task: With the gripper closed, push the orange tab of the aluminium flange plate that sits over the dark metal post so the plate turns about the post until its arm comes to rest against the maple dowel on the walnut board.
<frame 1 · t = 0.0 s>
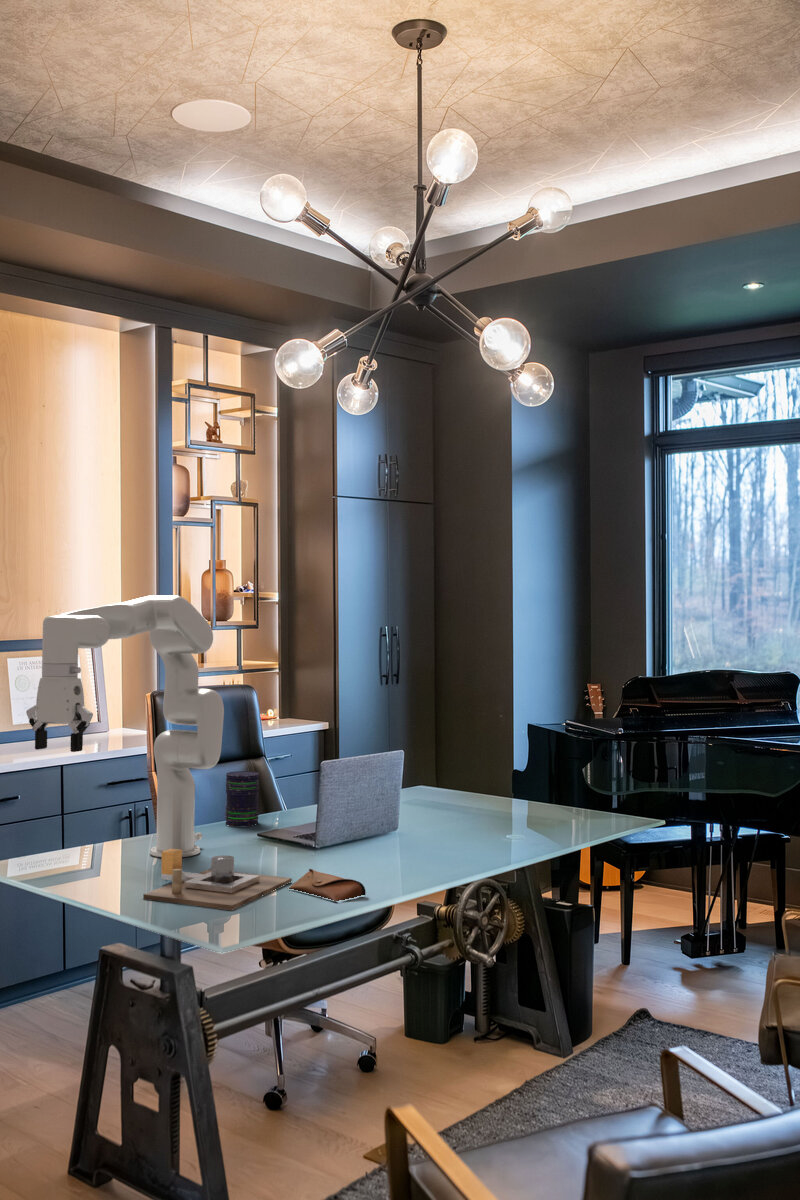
hand: (58, 750, 232), 31 cm above the table, tool pointing down, fingers open, 9 cm apart
sunglasses case: (324, 896, 234), on the table
post: (222, 885, 236), resting on base board
base board: (219, 890, 235), on the table
dowel: (176, 893, 229), resting on base board
flange: (205, 868, 238), point 4 cm above the table, hinge at 0.0°
storage jar: (241, 824, 314), on the table
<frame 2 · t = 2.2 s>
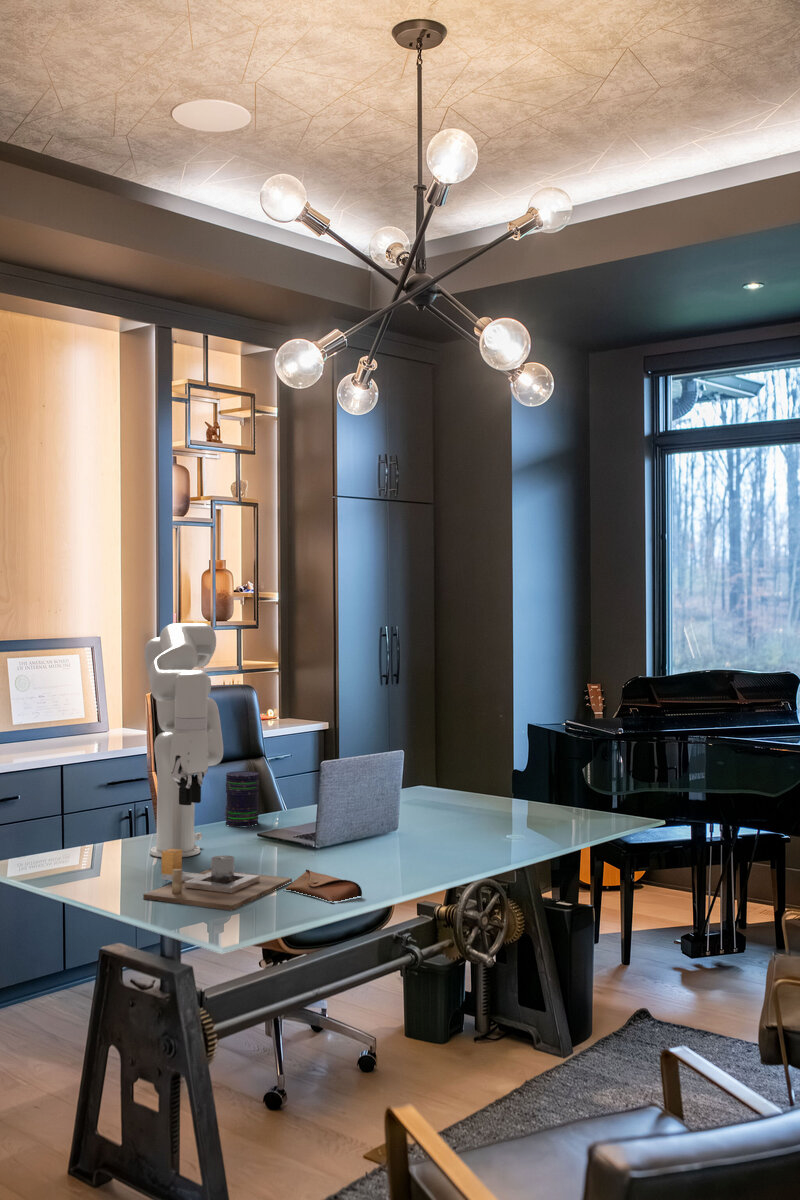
hand: (189, 802, 248), 17 cm above the table, tool pointing down, fingers open, 3 cm apart
sunglasses case: (320, 896, 233), on the table
everything else where it was.
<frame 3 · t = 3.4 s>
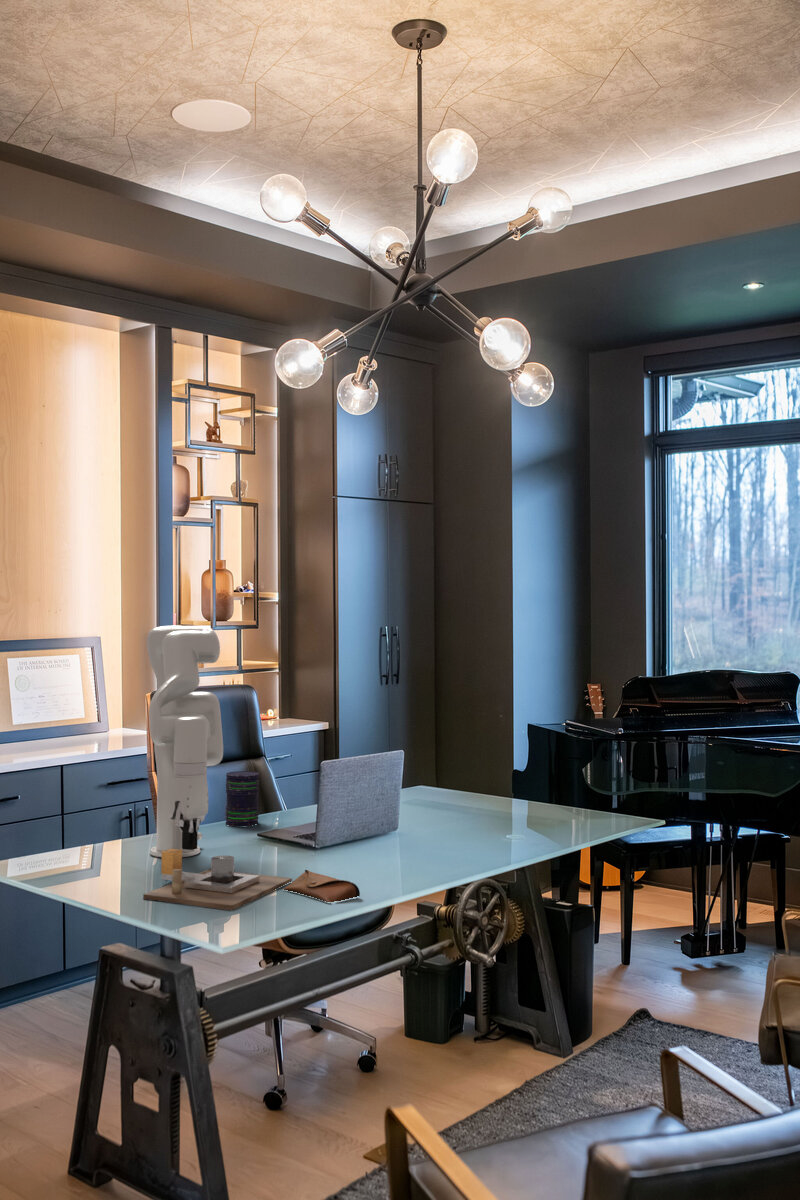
hand: (189, 848, 247), 7 cm above the table, tool pointing down, fingers closed
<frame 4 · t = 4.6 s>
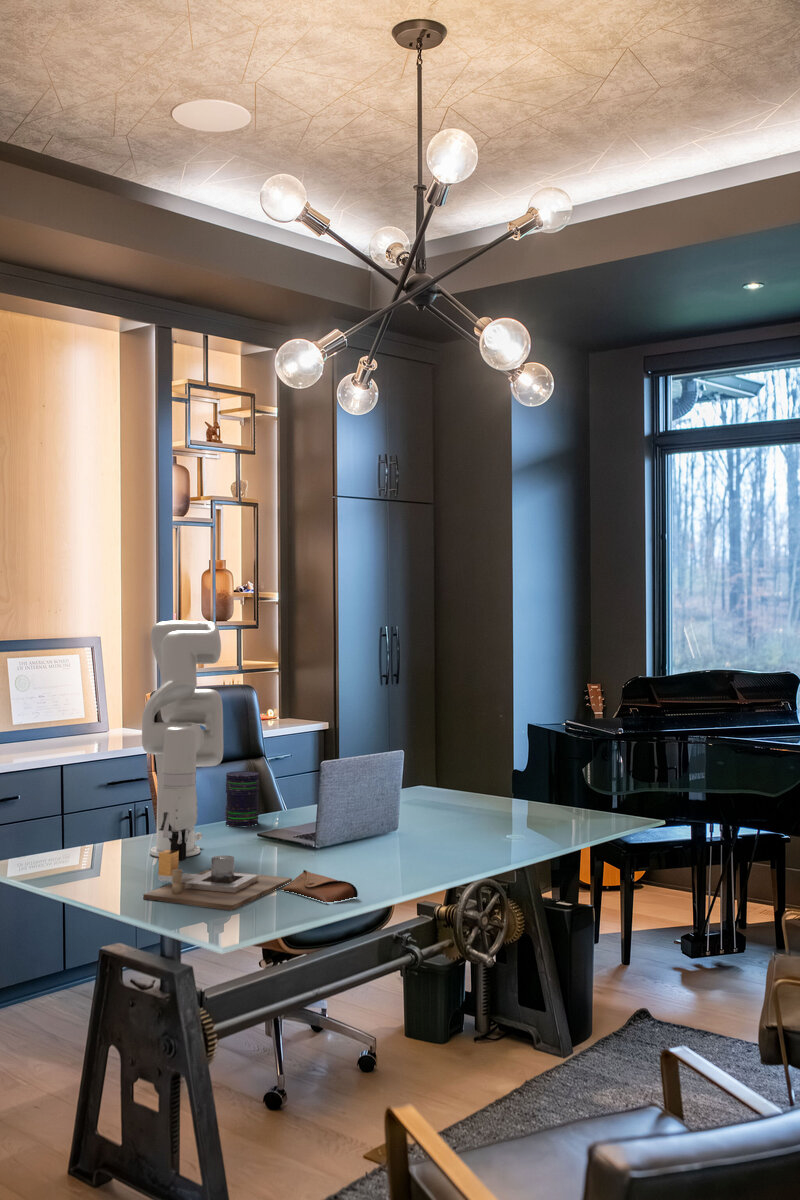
hand: (178, 859, 244), 5 cm above the table, tool pointing down, fingers closed
flange: (204, 868, 238), point 4 cm above the table, hinge at 5.6°, touching gripper
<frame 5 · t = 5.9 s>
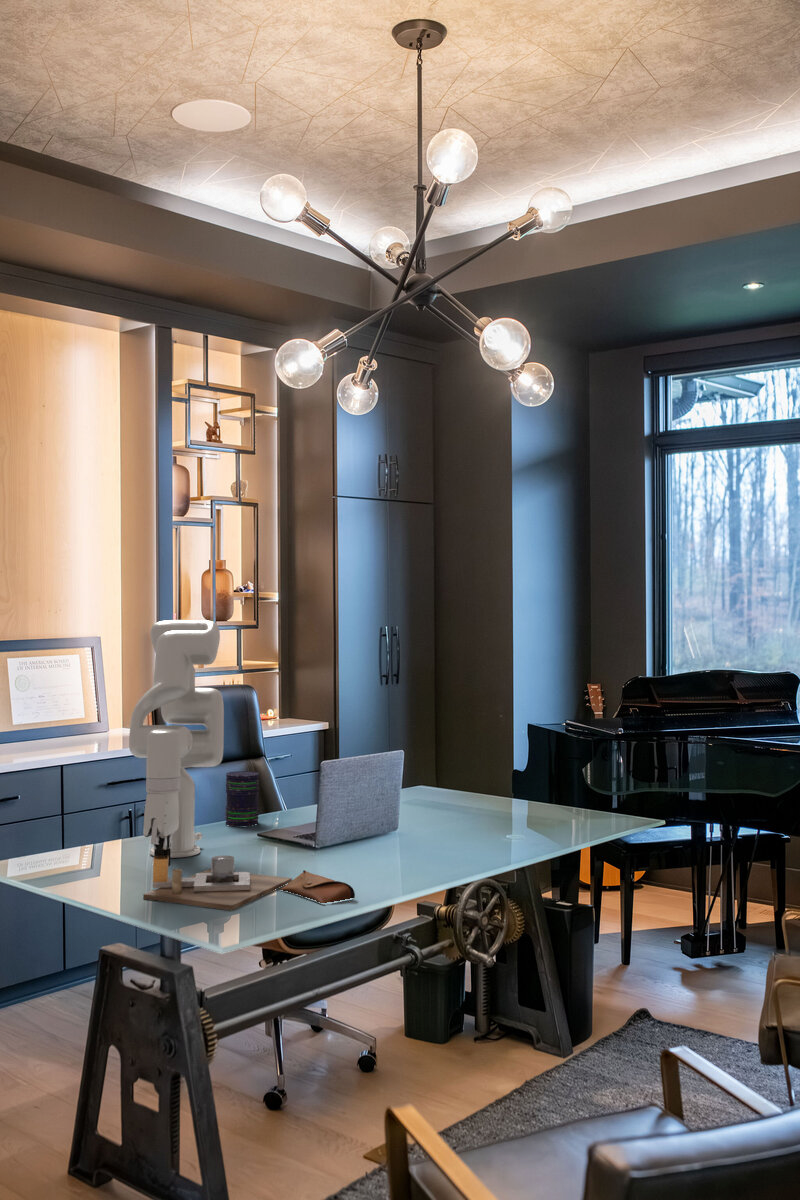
hand: (162, 866, 238), 5 cm above the table, tool pointing down, fingers closed
flange: (202, 870, 236), point 4 cm above the table, hinge at 30.9°, touching gripper
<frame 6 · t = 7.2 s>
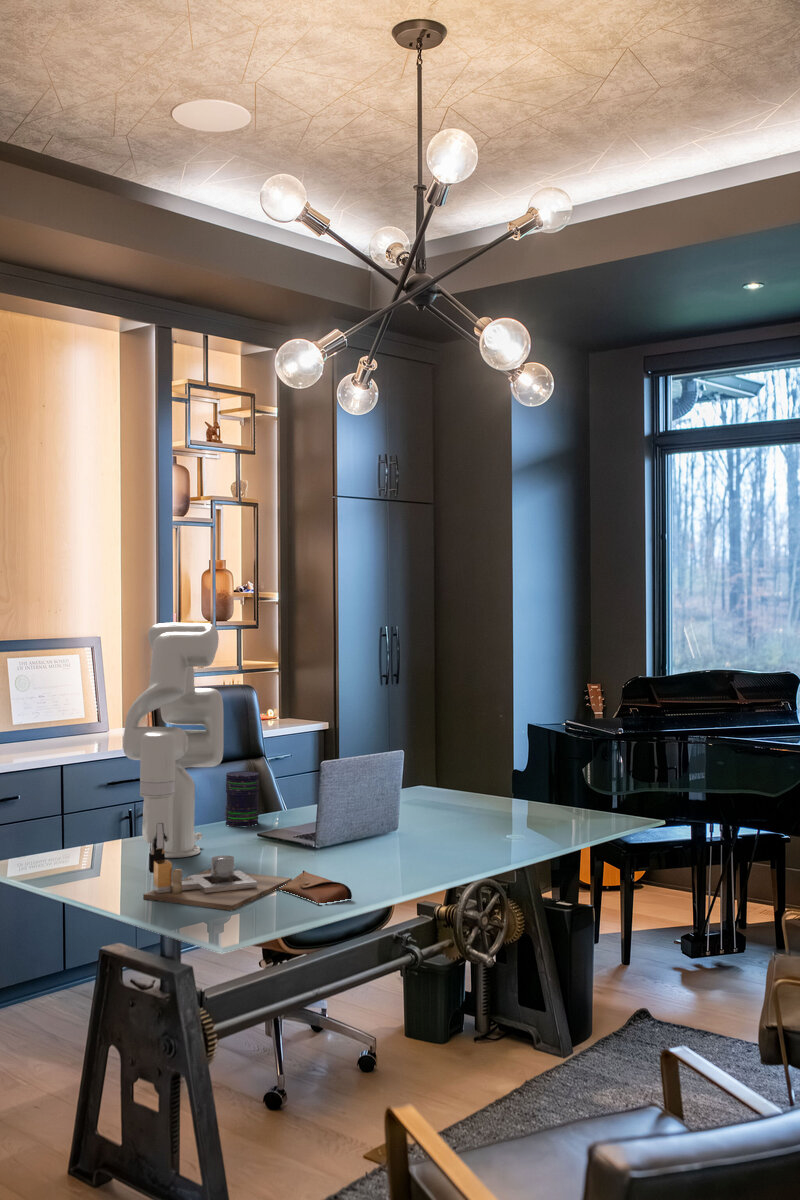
hand: (156, 871, 234), 5 cm above the table, tool pointing down, fingers closed
flange: (203, 872, 234), point 4 cm above the table, hinge at 50.0°, touching dowel, gripper
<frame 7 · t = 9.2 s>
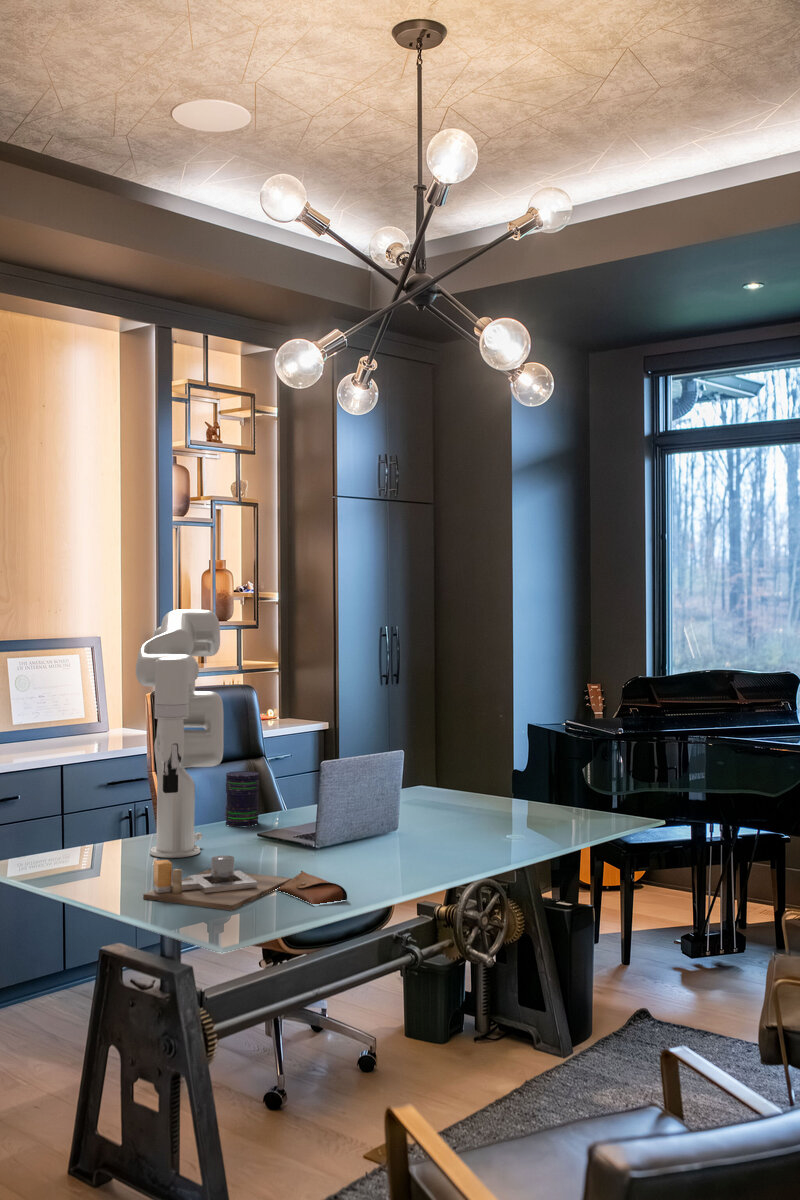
hand: (170, 792, 241), 21 cm above the table, tool pointing down, fingers closed
flange: (203, 872, 234), point 4 cm above the table, hinge at 50.0°, touching dowel
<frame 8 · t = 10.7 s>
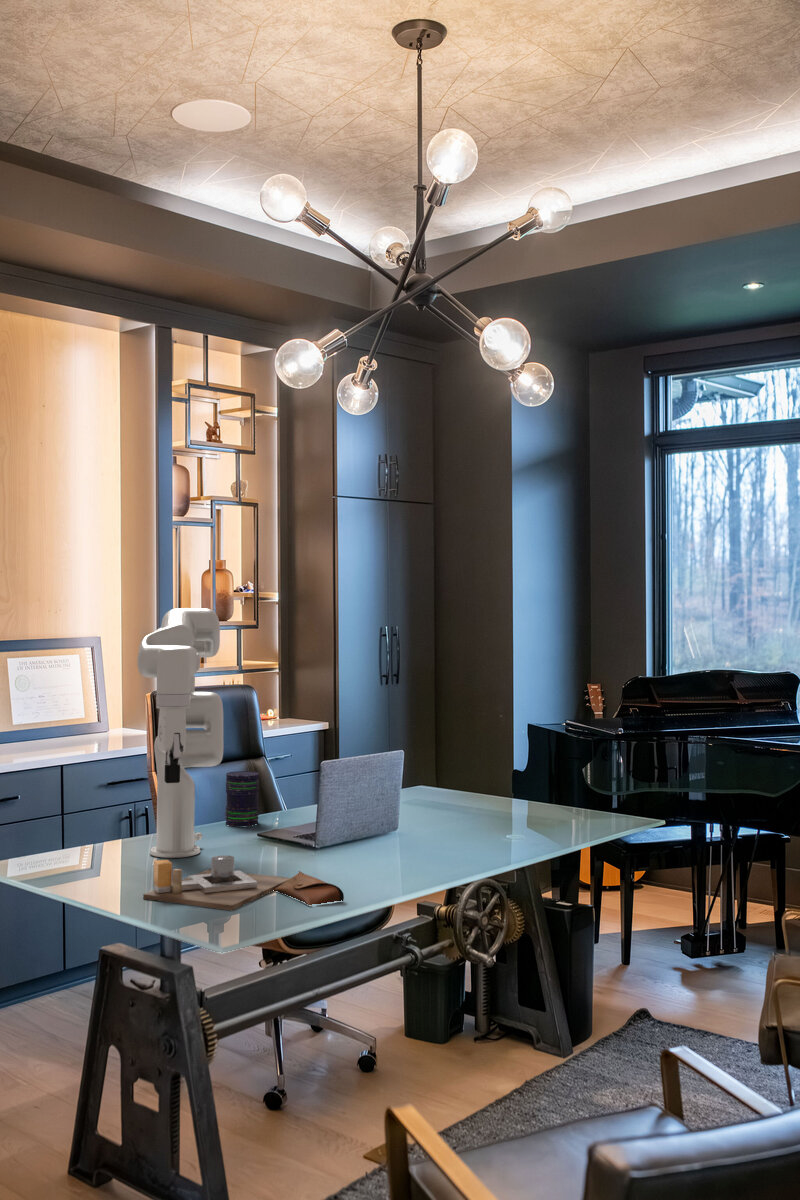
hand: (172, 782, 241), 23 cm above the table, tool pointing down, fingers closed
at the end: flange at +50° (first picture: +0°); flange 0.0 cm from the post (horizontally) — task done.
